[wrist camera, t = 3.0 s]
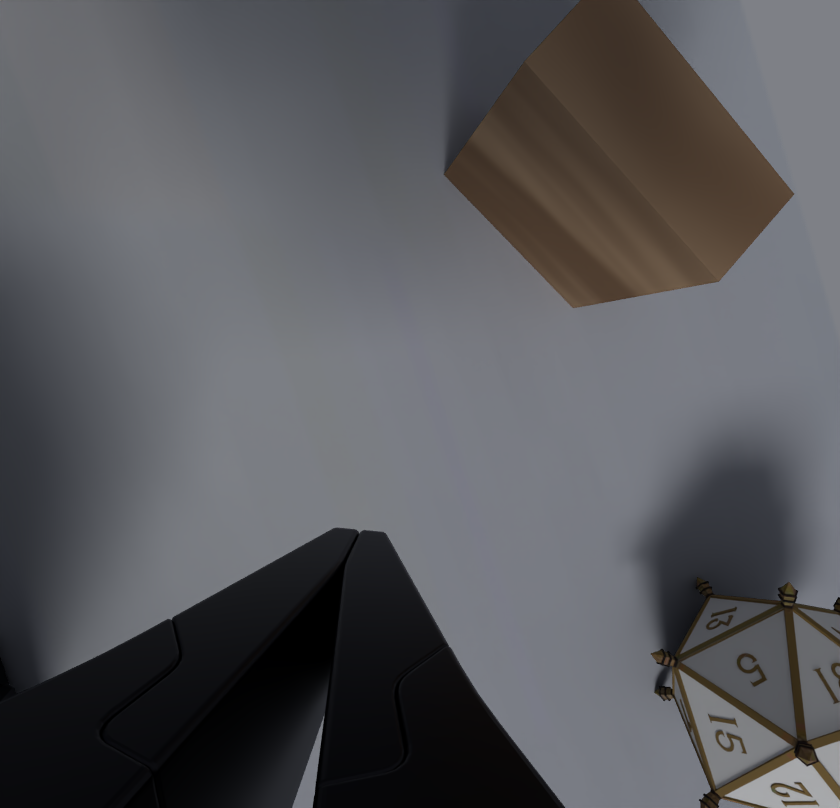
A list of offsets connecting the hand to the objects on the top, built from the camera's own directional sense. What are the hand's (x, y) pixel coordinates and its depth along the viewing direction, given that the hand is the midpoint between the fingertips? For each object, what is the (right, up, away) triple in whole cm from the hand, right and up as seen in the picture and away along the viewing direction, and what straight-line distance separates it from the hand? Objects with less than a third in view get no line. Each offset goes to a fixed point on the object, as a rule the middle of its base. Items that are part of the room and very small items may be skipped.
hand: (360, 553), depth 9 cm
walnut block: (+5, +10, +12) cm, 16 cm away
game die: (+13, -8, +15) cm, 22 cm away
